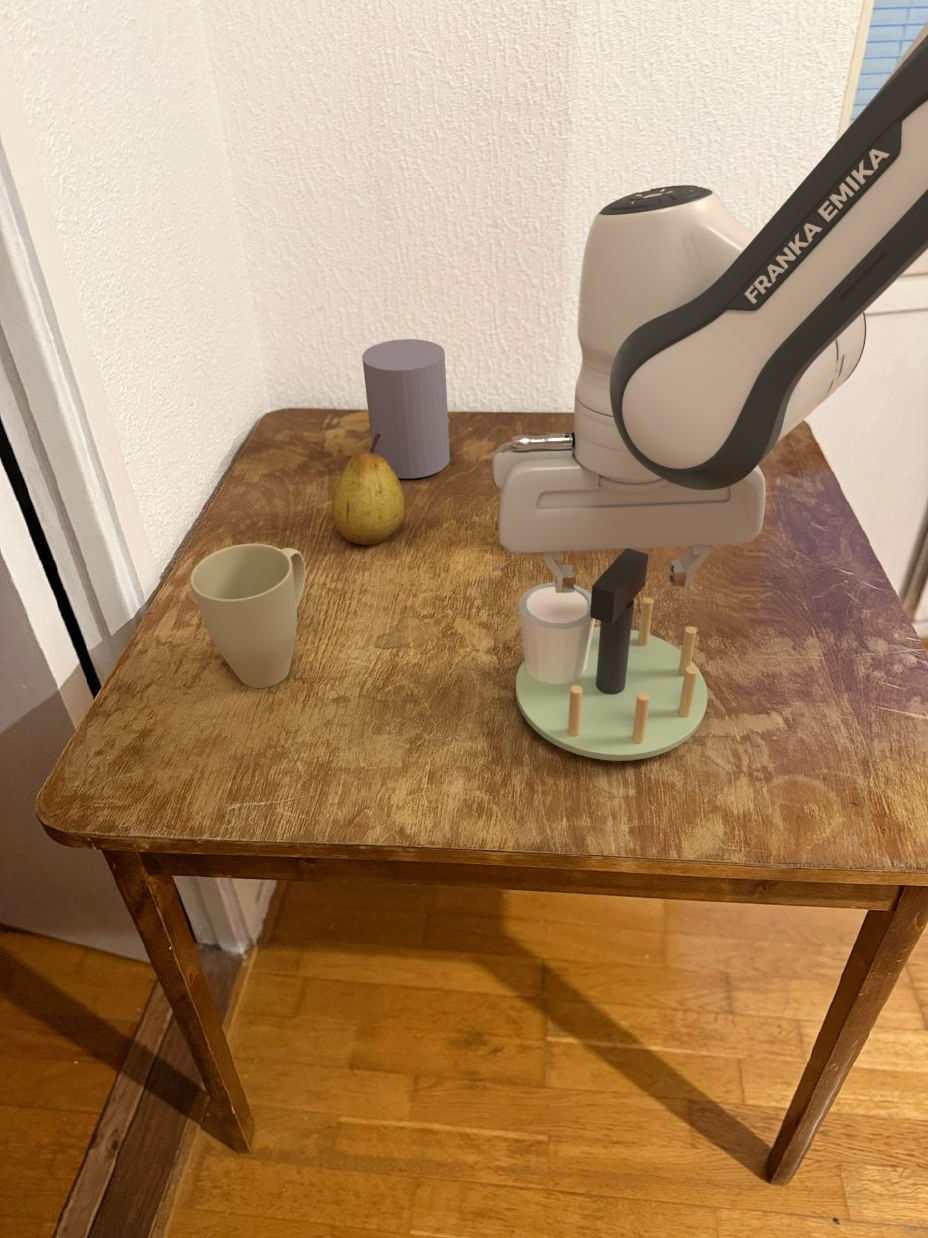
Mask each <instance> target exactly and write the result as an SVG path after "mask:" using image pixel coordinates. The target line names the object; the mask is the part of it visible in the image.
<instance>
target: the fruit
mask: <svg viewBox="0 0 928 1238" xmlns="http://www.w3.org/2000/svg"><path fill="white" fill-rule="evenodd" d="M380 436H381V435H380V434H379V433H377V434H376V435H375V438H374V442H373V444H372V443H371V447H370V449H369V450H366V449H365V450H364V449H363V450H359V451H357V452H355V453H354V454H353V455H352V456H351V458H350V459H349V460H348V463H347V464H346V466H345V468H344V470H343V472H342V473H341V474H340V477H339V479H338V480H337V482H336V484H335V486H334V489H333V491H332V496H331V506H330V508H331V509H330V510H331V516H332V521H333V524H334V526H335V527H336V530H338V532H339V533H340V535H341V536H342V537H343V538H344V539H346V540H347V541H349V542H350V543H353V544H355V545H362V546H373V545H377V544H380V543H382V542H384V541H386V540H387V539H389V538H390V537H391V536H393V535H394V534H395V533H396V531H398V530H399V529H400V527H401V526H402V525H403V522H404V520H405V516H406V508H407V504H406V503H407V502H406V497H405V493H404V489H403V487H402V484H401V482H400V480H399V478H397V476H396V475H395V473H394V472H393V471H392V469H391V468H390V466H389V465H388V463H387V462H386V460H385V459H384V458H383V457H381V456H380V455H377V454H374V453H373V452H374V449H375V446H376V444H377V441H378V439H379V437H380Z"/></svg>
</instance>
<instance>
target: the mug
mask: <svg viewBox="0 0 928 1238" xmlns="http://www.w3.org/2000/svg"><path fill="white" fill-rule="evenodd" d="M306 573H307V569H306V563H305V558H304V556H303V554H302V553H301V552H300V550H297V549H296V548H292V547H284V548H282V549H280V548H278V547H276V546H274V545H268V544H264V543H242V544H236V545H231V546H227V547H225V548H221V549H219V550H216V551H213V552H212V553H210V554H208V555H207V556H205V557H204V558H202V559H201V560H200V561H199V562H198V563H197V564H195V566H194V568H193V569H192V571H191V573H190V579H189V582H190V587H191V588H192V591H193V595H194V597H195V599H196V603H197V606H198V608H199V611H200V613H201V616H202V619H203V621H204V625H205V627H206V629H207V632H208V634H209V636H210V638H211V641H212V642H213V644H214V646H215V648H216V649H217V650H218V652H219V654H220V655H221V657H222V658H223V659H224V660H225V662H226V663H227V665H228V666H229V667H230V669H231V670H232V671H233V672H234V674H235V675H236V677H237V678H238V679H239V681H240V682H241V683H242V684H243V685H244V686H246V687H249V688H251V689H252V688H253V689H266V688H270V687H274V686H276V685H278V684H279V683H281V682H283V681H284V680H285V679H286V677H288V675H289V672H290V669H291V663H292V657H293V652H294V647H295V642H296V637H297V630H298V608H299V605H300V601H301V598H302V596H303V592H304V590H305V589H304V588H305V585H306V577H307V574H306Z"/></svg>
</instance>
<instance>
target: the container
mask: <svg viewBox="0 0 928 1238" xmlns="http://www.w3.org/2000/svg"><path fill="white" fill-rule="evenodd" d="M361 355H362V356H361V358H362V367H363V368H362V369H363V376H364V386H365V387H364V388H365V395H366V405H367V406H366V407H367V414H368V422H369V423H368V424H369V431H370V441H371V445H372V444H373V442H374V438H375V435H376V434H377V433H379V434H380V435H381V436H380V437H379V439H378V441H377V444H376V446H375V449H374V452H373V453H374V454H377V455H380V456H381V457H383V458H384V459H385V460H386V462H387V463H388V465H389V466H390V468H391V469H392V471H393V472H394V473H395V475H396V476H397V478H398V479H403V480H404V479H407V480H408V479H410V480H412V479H420V478H425V477H428V476H432V475H435V474H437V473H439V472H441V471H443V470H444V469H446V467H447V466H448V465H449V464H450V461H451V453H450V433H449V431H450V430H449V411H448V393H447V389H448V388H447V371H446V369H447V368H446V352H445V349H444V348H443V346H441V345H440V344H438V343H435V342H433V341H430V340H424V339H415V338H403V339H393V340H387V341H383V342H380V343H376V344H373V345H372V346H370V347H369V348H367V349H365V351H363V353H362V354H361Z"/></svg>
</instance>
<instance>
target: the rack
mask: <svg viewBox="0 0 928 1238" xmlns="http://www.w3.org/2000/svg"><path fill="white" fill-rule="evenodd" d="M648 562H649V553H646V552H644V551H643V552H642V551H639V550H636V549H634V548H629V549H623V551H622V552H621V553H620V554H619V556H618V557H617V558H615V560H614V561H613V562H612V563H611V564H610V565H609V566H608V568H606V569H605V571H604V572H603V573H602V574H601V575H600V576H599V578H597V580H596V581H595V582H594V583H593V584H592V585H591V610H590V618H593V619H595V621H599V622H600V625H599V626H594V629H593V634H592V639H591V644H590V650H589V655H588V660H587V666H586V669H585V671H584V673H583V674H582V676H581V677H579V678H578V679H576V680H575V681H573V682H569V683H565V684H548V683H545V682H541V681H538V680H537V679H536V678H534V677H533V676H531V675H530V674H529V672H528V670H527V669H526V666H525V658H523V660H522V662H521V663H520V665H519V667H518V670H517V674H516V677H515V698H516V702H517V705H518V708H519V710H520V712H521V714H522V716H523V717H524V719H525V720H526V722H527V723H528V725H529V726H530V727H531V728H532V729H533V730H534V731H535V732H536V733H537V734H539V735H540V736H541V737H542V738H544V739H545V740H547V741H548V742H549V743H551V744H553V745H555V746H556V747H558V748H560V749H562V750H565V751H567V752H570V753H573V754H576V755H579V756H582V757H586V758H590V759H597V760H600V761H601V760H602V761H616V762H621V761H637V760H645V759H648V758H652V757H657V756H660V755H662V754H665V753H667V752H670V751H671V750H673V749H676V748H678V747H679V746H681V745H682V744H683V743H686V741H687V740H689V739H690V738H691V737H692V736H693V735H694V734H695V733H696V732H697V730H698V729H699V728H700V726H701V724H702V722H703V720H704V718H705V714H706V711H707V705H708V688H707V684H706V682H705V678H704V677H703V674H702V672H701V671H700V669H699V668H698V666H697V665H696V663H694V661H693V655H694V649H695V642H696V637H697V628H696V627H694V626H691V625H690V626H689V625H688V626H686V627H685V628H684V631H683V640H682V646H681V649H679V648H677V647H676V646H674V645H673V644H671V643H670V642H668V641H666V640H664V639H662V638H660V637H657V636H655V635H652V634H650V632H651V624H652V616H653V610H654V609H653V608H654V599H653V598H652V597H649V596H646V597H643V598H642V601H641V608H640V617H639V627H638V630H636V629H632V624H633V617H634V616H633V615H634V606H635V605H634V604H635V601H634V599H635V598H636V597H637V596H638V595H639V593H640V592H642V590H643V588H644V587H645V586H646V579H647V571H648V564H649V563H648Z"/></svg>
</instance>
